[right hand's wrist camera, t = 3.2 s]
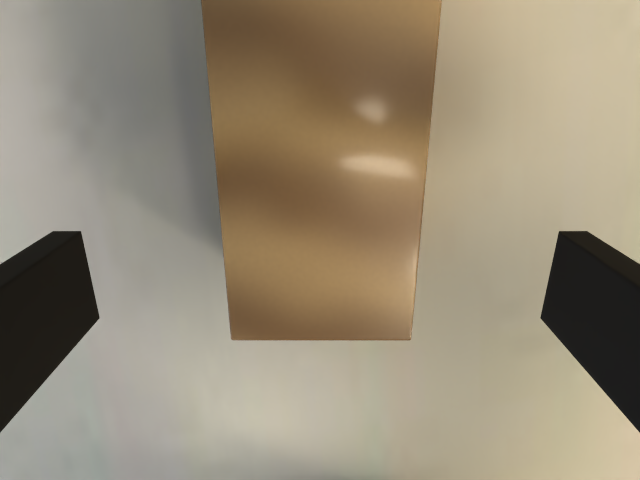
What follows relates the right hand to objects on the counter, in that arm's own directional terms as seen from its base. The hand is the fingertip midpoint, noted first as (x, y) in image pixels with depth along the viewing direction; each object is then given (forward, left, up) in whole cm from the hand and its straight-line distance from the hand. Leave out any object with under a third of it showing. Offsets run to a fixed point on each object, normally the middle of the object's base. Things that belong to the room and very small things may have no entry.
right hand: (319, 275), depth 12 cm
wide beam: (+17, -18, -14) cm, 29 cm away
